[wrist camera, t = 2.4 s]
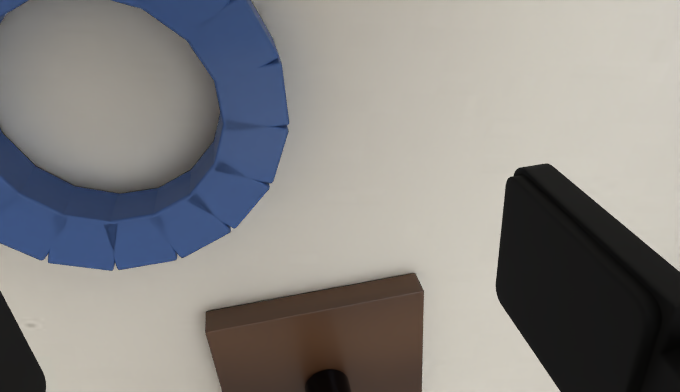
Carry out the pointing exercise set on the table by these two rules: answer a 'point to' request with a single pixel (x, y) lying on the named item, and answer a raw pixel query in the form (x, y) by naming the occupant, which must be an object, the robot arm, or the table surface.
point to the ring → (184, 191)
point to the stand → (323, 340)
